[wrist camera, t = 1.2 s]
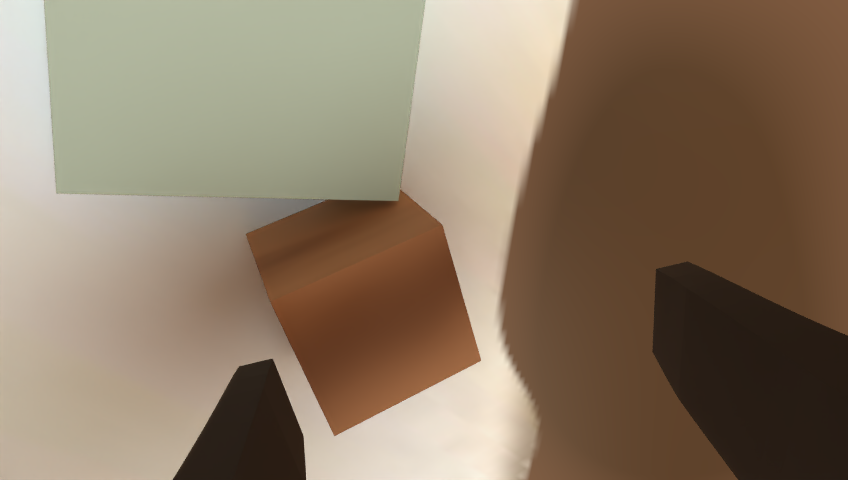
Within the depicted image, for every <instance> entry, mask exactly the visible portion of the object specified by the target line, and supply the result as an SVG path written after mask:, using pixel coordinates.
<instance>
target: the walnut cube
mask: <svg viewBox="0 0 848 480" xmlns="http://www.w3.org/2000/svg"><path fill="white" fill-rule="evenodd" d="M246 236H247V239H248V242H249V244H250V247H251V250H252V253H253V256H254V258H255V261H256V264H257V267H258V269H259V272H260V275H261V278H262V280H263V283H264V286H265V289H266V291H267V294H268V297H269V300H270V302H271V304H272V307H273V309H274V311H275V313H276V315H277V317H278V319H279V321H280V323H281V325H282V327H283V329H284V332H285V334H286V336H287V338H288V340H289V342H290V344H291V346H292V348H293V350H294V352H295V355H296V357H297V359H298V361H299V363H300V365H301V367H302V369H303V371H304V373H305V375H306V378H307V380H308V382H309V384H310V386H311V388H312V390H313V392H314V394H315V396H316V398H317V400H318V403H319V405H320V407H321V409H322V411H323V413H324V415H325V417H326V419H327V421H328V423H329V426H330V428H331V430H332V432H333V434H334V436H336V435H338V434H339V433H341V432H343V431H345V430H347V429H349V428H351V427H353V426H355V425H357V424H359V423H361V422H363V421H365V420H367V419H369V418H371V417H373V416H374V415H376V414H378V413H380V412H382V411H384V410H386V409H388V408H390V407H392V406H394V405H396V404H398V403H400V402H402V401H404V400H406V399H407V398H409V397H411V396H413V395H415V394H417V393H419V392H421V391H423V390H425V389H427V388H429V387H431V386H433V385H435V384H437V383H439V382H441V381H442V380H444V379H446V378H448V377H450V376H452V375H454V374H456V373H458V372H460V371H462V370H464V369H466V368H468V367H470V366H472V365H474V364H476V363H477V362H479V361H481V358H480V355H479V351H478V348H477V344H476V341H475V337H474V334H473V331H472V327H471V324H470V320H469V317H468V313H467V310H466V306H465V303H464V299H463V296H462V292H461V289H460V285H459V282H458V278H457V275H456V271H455V268H454V264H453V261H452V257H451V254H450V250H449V247H448V243H447V240H446V236H445V233H444V229H443V226H442V224H441V223H440V222H438V221H437V220H436V219H435V218H434V217H432V216H431V215H430V214H429V213H428V212H426V211H425V210H424V209H423V208H422V207H420V206H419V205H418V204H417V203H416V202H414V201H413V200H412V199H411V198H410V197H408V196H407V195H406V194H405V193H404V192H402V191H401V190H400V193H399V200H398V201H376V200H331V199H329V200H326V201H324V202H321V203H319V204H317V205H314V206H312V207H310V208H307V209H305V210H302V211H300V212H298V213H295V214H293V215H290V216H288V217H286V218H283V219H281V220H278V221H276V222H274V223H271V224H269V225H266V226H264V227H262V228H259V229H257V230H254V231H252V232H250V233H247V234H246Z"/></svg>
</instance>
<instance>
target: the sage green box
mask: <svg viewBox="0 0 848 480" xmlns="http://www.w3.org/2000/svg"><path fill="white" fill-rule="evenodd" d="M424 7H425V0H44V9H45V24H46V40H47V56H48V71H49V87H50V102H51V118H52V133H53V149H54V165H55V180H56V193H57V194H103V195H148V196H194V197H240V198H285V199H331V200H376V201H398V200H399V193H400V185H401V178H402V170H403V163H404V156H405V148H406V141H407V133H408V126H409V118H410V111H411V104H412V96H413V89H414V81H415V74H416V67H417V59H418V52H419V44H420V37H421V30H422V22H423V15H424Z"/></svg>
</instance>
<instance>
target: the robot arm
mask: <svg viewBox="0 0 848 480" xmlns="http://www.w3.org/2000/svg"><path fill="white" fill-rule="evenodd" d="M653 353H654V355H655V357H656V359H657V361H658V362H659V365H660V367H661V368H662V370H663V372H664V374H665V376H666V378H667V379H668V381H669V383H670V385H671V386H672V388H673V390H674V392H675V393H676V395H677V397H678V398H679V400H680V401H681V403H682V404H683V405H684V407H685V408H686V410H687V411H688V412H689V414H690V415H691V416H692V418H693V419H694V421H695V422H696V423H697V425H698V426H699V427H700V429H701V430H702V431H703V433H704V434H705V436H706V437H707V438H708V440H709V441H710V442H711V444H712V445H713V446H714V448H715V449H716V450H717V452H718V453H719V454H720V456H721V457H722V458H723V460H724V461H725V462H726V464H727V465H728V466H729V468H730V469H731V471H732V472H733V473H734V475H735V476H736V477H737V478H738V480H848V336H847V335H845V334H842V333H840V332H838V331H835V330H833V329H831V328H828V327H826V326H824V325H822V324H819V323H817V322H814V321H812V320H810V319H808V318H806V317H804V316H801V315H799V314H797V313H795V312H792V311H791V310H788V309H786V308H784V307H782V306H780V305H778V304H776V303H774V302H772V301H770V300H767V299H765V298H763V297H761V296H759V295H757V294H755V293H753V292H751V291H749V290H747V289H745V288H743V287H741V286H739V285H736V284H734V283H732V282H730V281H728V280H726V279H724V278H722V277H720V276H718V275H716V274H714V273H712V272H710V271H707V270H705V269H703V268H701V267H699V266H697V265H694V264H692V263H690V262H684V263H680V264H675V265H671V266H667V267H663V268H659V269H656V284H655V307H654V330H653ZM173 480H306V468H305V453H304V438H303V434H302V431H301V429H300V426H299V424H298V421H297V419H296V416H295V414H294V411H293V409H292V406H291V404H290V401H289V399H288V396H287V393H286V391H285V388H284V386H283V383H282V381H281V378H280V376H279V373H278V371H277V368H276V366H275V363H274V361H273V359H269V360H265V361H260V362H256V363H252V364H248V365H243V366H239V368H238V369H237V370H236V372H235V374H234V375H233V377H232V379H231V381H230V382H229V384H228V386H227V388H226V390H225V391H224V393H223V395H222V397H221V399H220V400H219V402H218V404H217V406H216V408H215V409H214V411H213V413H212V415H211V417H210V418H209V420H208V422H207V424H206V425H205V427H204V429H203V431H202V432H201V434H200V436H199V437H198V439H197V441H196V442H195V444H194V446H193V447H192V449H191V451H190V452H189V454H188V456H187V457H186V459H185V461H184V462H183V464H182V466H181V467H180V469H179V470H178V472H177V474H176V475H175V477H174V478H173Z"/></svg>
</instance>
